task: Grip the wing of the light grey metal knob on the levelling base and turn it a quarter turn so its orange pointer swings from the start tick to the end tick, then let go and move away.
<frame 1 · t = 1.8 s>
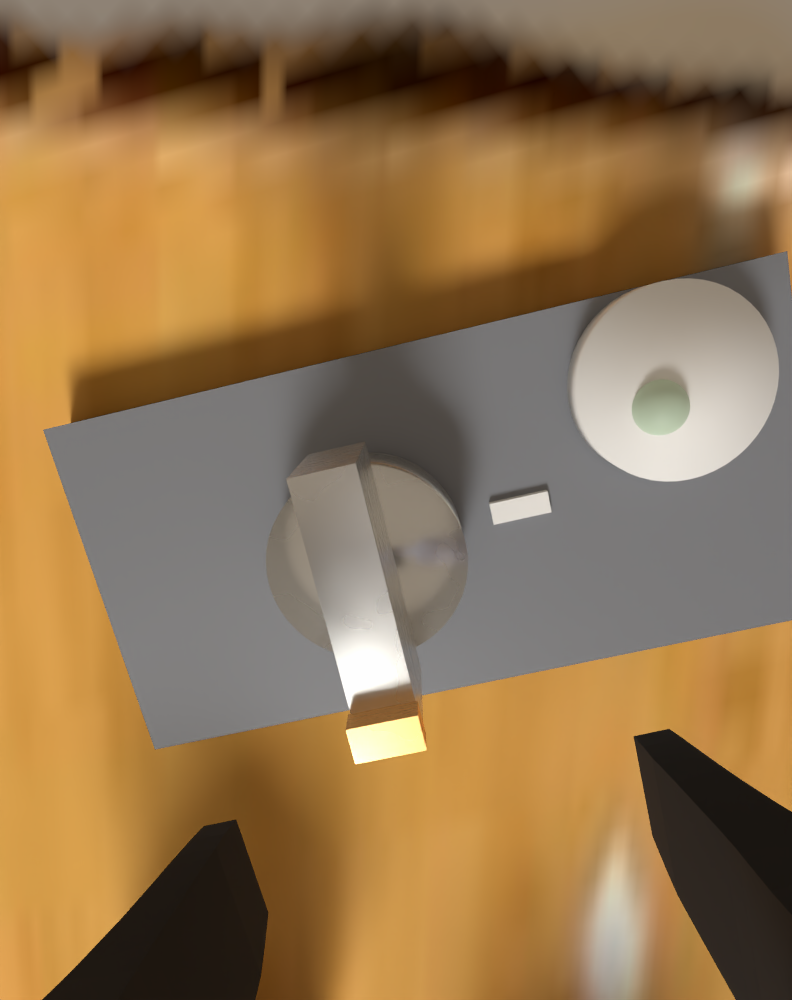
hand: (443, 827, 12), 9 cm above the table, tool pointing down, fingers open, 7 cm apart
levelling base: (439, 510, 20), on the table
knob: (364, 576, 16), point 5 cm above the table, hinge at 0.0°
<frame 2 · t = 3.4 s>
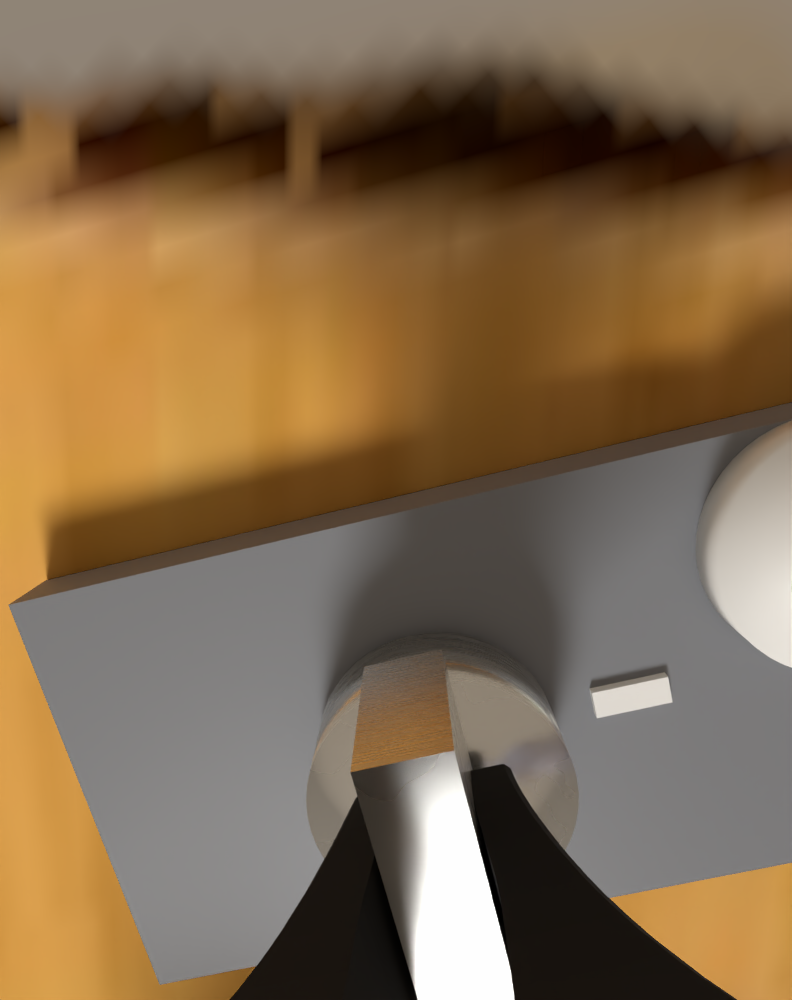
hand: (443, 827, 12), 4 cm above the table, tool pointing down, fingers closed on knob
levelling base: (516, 680, 16), on the table
knob: (444, 835, 12), point 5 cm above the table, hinge at 0.0°, touching gripper
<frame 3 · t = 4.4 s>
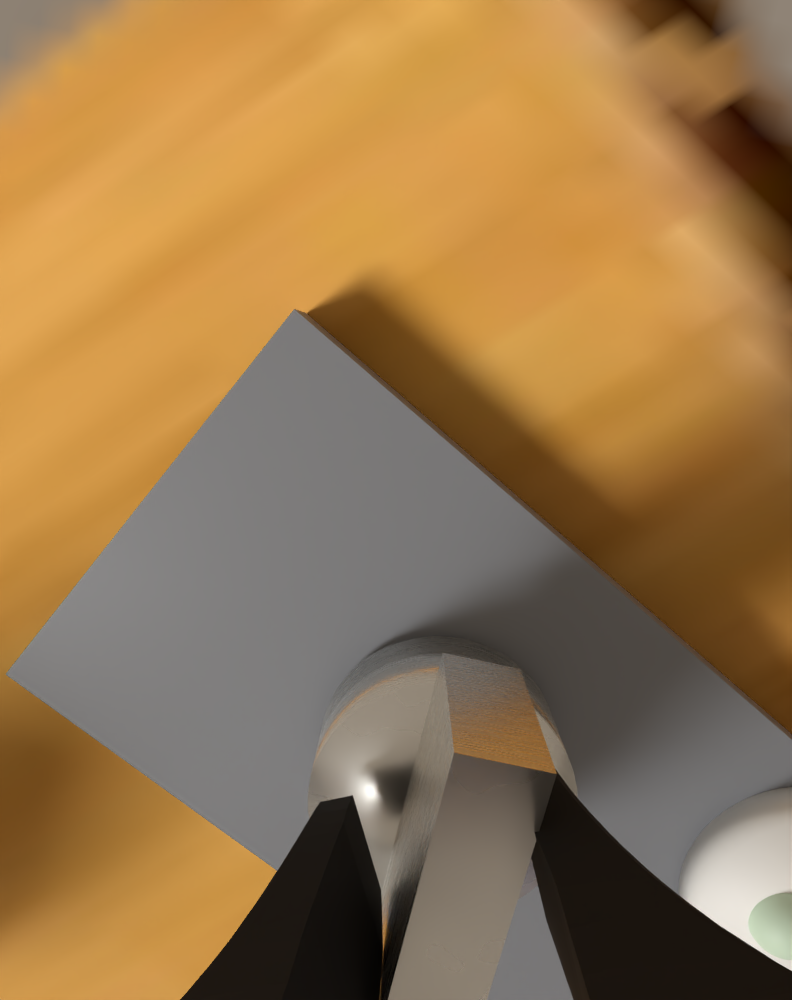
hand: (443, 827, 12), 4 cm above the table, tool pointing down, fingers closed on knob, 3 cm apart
levelling base: (496, 750, 17), on the table
knob: (444, 837, 12), point 5 cm above the table, hinge at 28.2°, touching gripper
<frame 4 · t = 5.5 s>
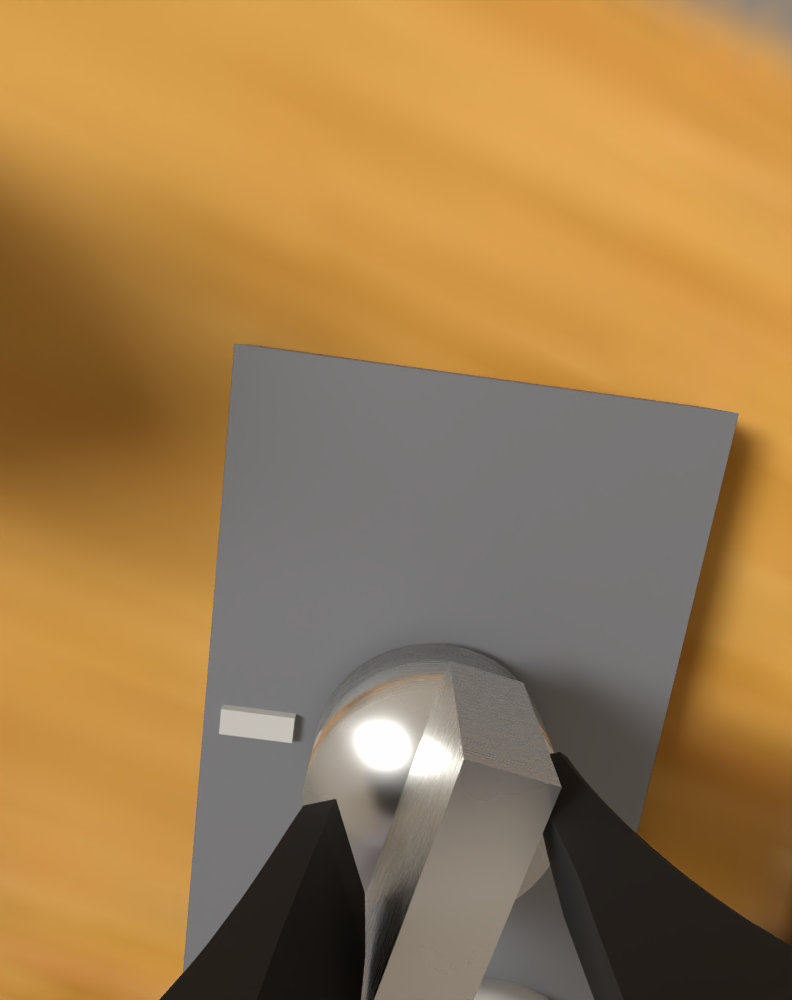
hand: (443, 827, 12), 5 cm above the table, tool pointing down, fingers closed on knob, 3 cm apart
levelling base: (415, 780, 17), on the table
knob: (436, 842, 12), point 5 cm above the table, hinge at 80.3°, touching gripper
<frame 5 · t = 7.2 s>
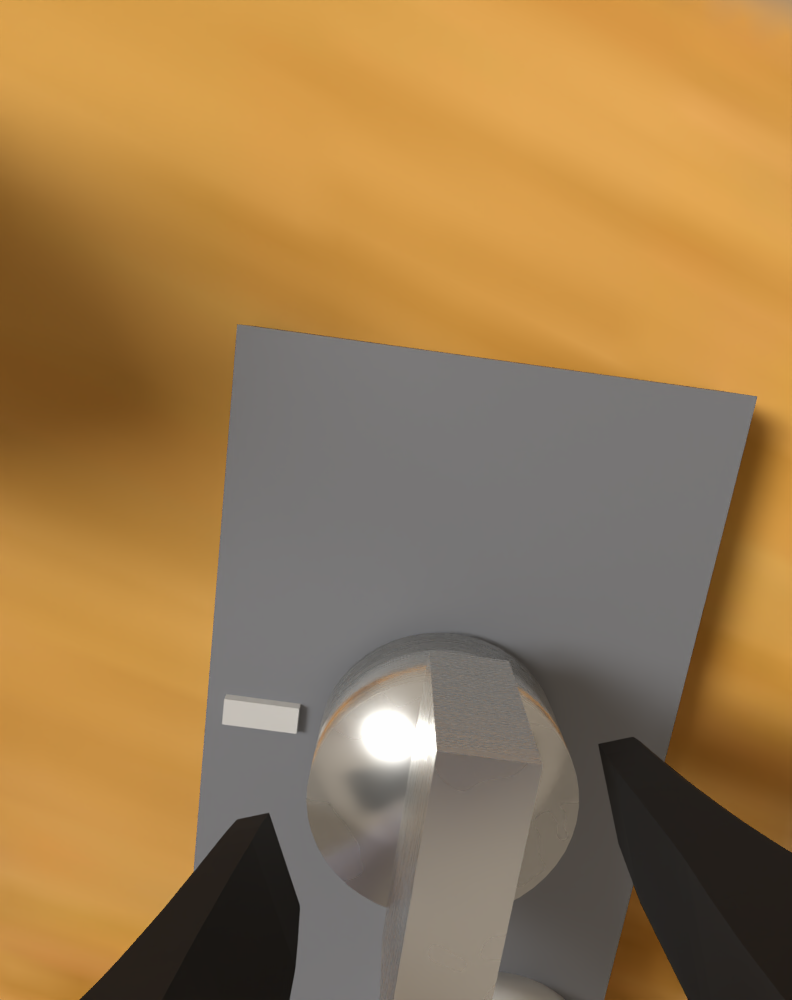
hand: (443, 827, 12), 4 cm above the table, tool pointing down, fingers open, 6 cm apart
levelling base: (422, 772, 17), on the table
knob: (444, 835, 12), point 5 cm above the table, hinge at 89.7°
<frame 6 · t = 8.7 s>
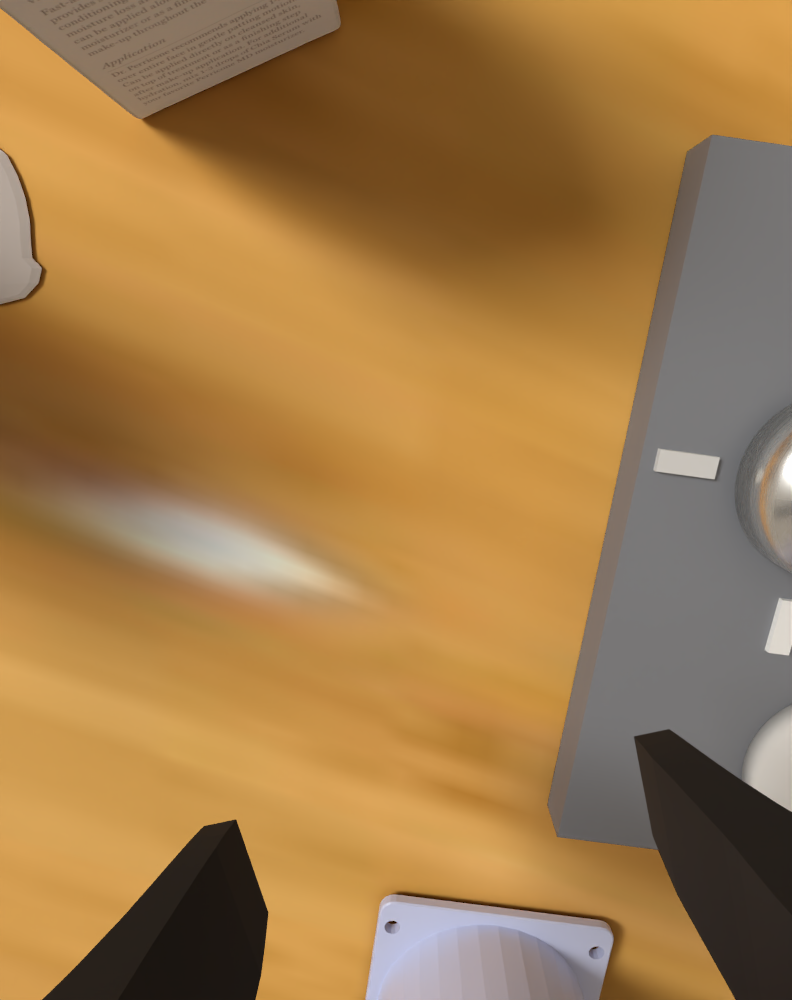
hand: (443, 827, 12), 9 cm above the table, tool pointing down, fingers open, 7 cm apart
levelling base: (774, 537, 20), on the table
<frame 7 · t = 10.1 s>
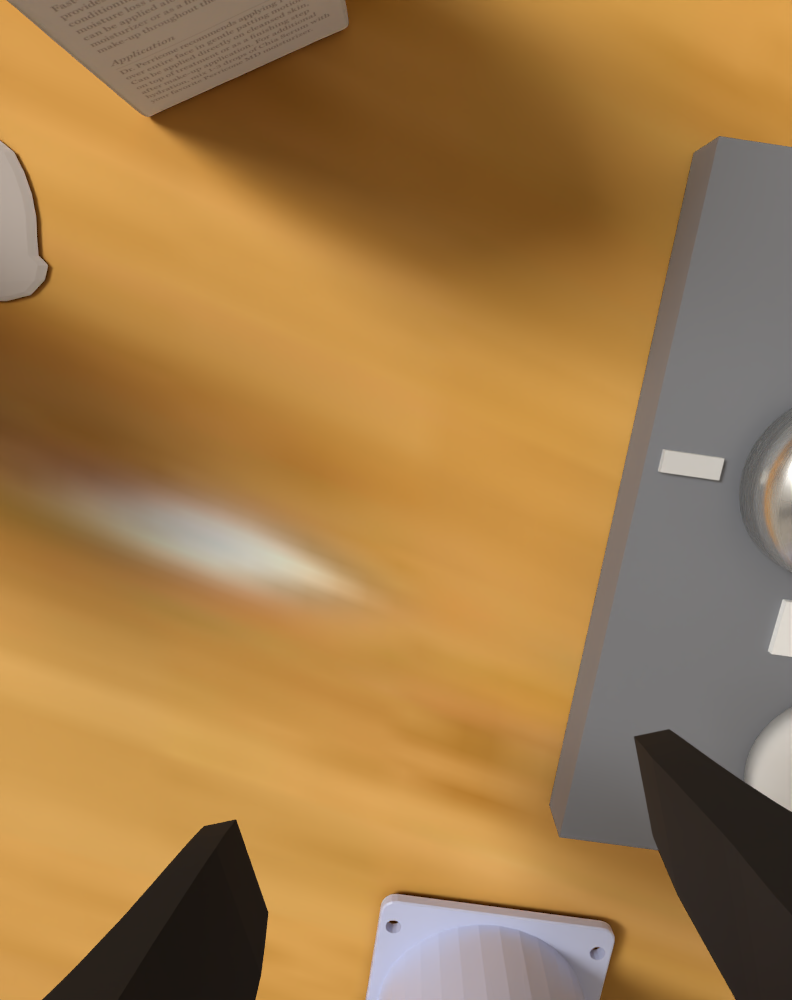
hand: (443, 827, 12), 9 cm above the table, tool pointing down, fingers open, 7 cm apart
levelling base: (777, 538, 20), on the table
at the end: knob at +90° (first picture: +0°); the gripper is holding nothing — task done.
